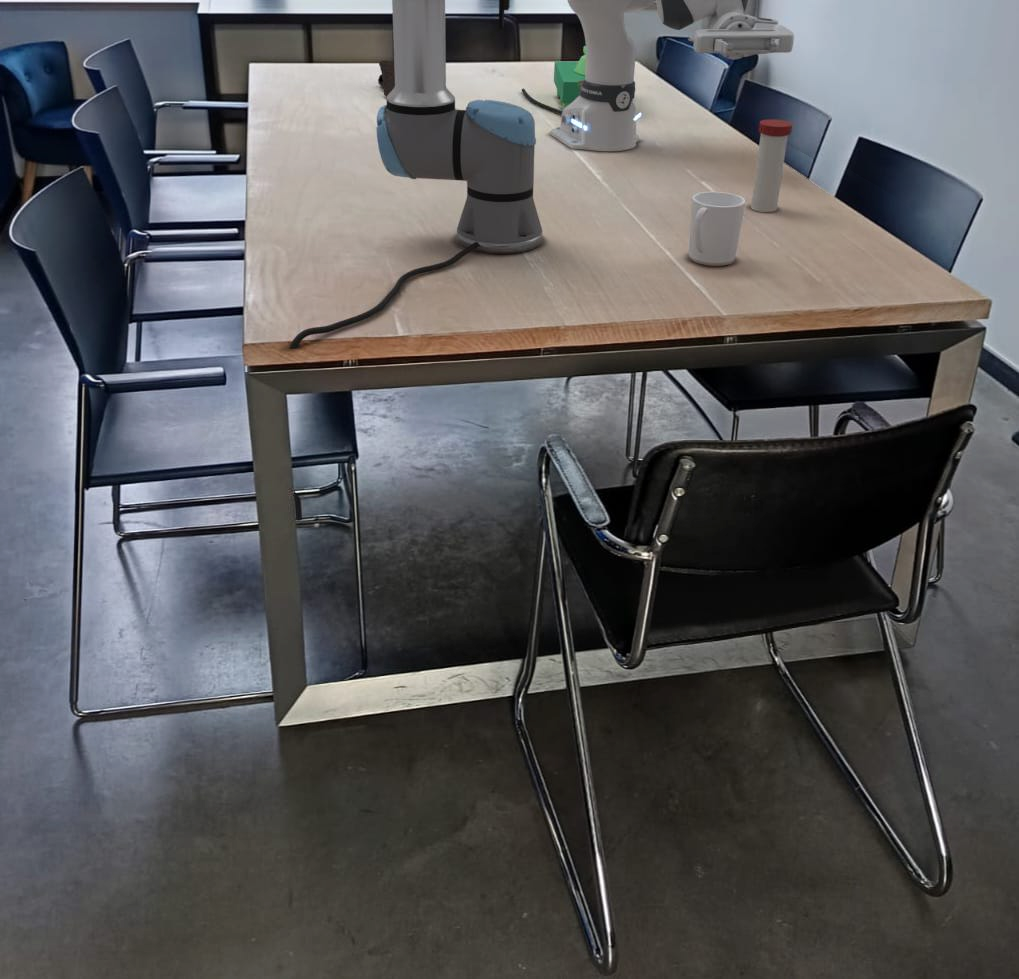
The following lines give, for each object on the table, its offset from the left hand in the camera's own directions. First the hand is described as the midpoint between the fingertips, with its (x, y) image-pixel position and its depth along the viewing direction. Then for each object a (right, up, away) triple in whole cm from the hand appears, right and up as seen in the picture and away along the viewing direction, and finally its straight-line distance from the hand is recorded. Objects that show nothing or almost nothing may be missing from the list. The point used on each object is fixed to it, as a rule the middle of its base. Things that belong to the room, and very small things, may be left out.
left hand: (468, 26), depth 224 cm
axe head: (-21, +14, +76) cm, 80 cm away
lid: (+59, -26, -17) cm, 67 cm away
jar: (+59, -40, -9) cm, 71 cm away
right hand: (+57, -7, -6) cm, 58 cm away
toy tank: (+30, +8, +68) cm, 75 cm away
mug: (+43, -55, -35) cm, 78 cm away
